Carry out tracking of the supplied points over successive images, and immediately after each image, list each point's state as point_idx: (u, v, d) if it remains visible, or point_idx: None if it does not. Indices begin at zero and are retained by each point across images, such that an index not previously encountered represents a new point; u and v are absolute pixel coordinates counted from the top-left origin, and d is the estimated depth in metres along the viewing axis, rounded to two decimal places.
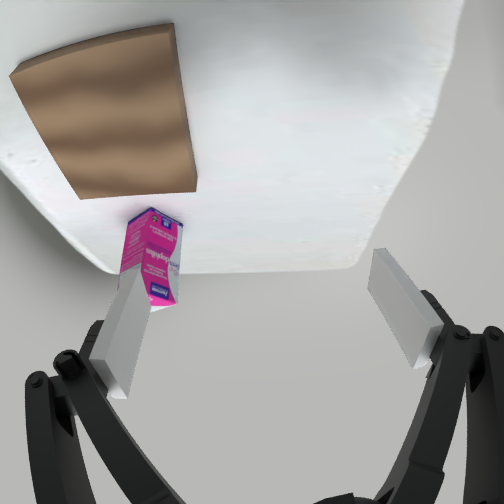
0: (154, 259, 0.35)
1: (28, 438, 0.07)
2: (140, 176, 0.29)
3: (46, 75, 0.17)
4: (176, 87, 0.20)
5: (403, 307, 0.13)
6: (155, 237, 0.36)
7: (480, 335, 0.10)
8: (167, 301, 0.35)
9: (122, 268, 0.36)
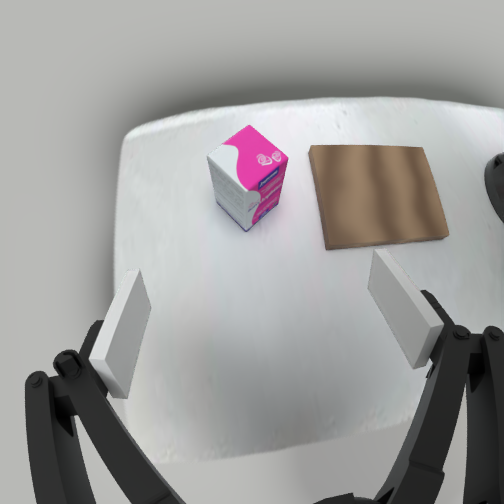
0: (274, 186, 0.32)
1: (28, 438, 0.07)
2: (345, 201, 0.37)
3: (423, 168, 0.39)
4: (422, 237, 0.36)
5: (403, 307, 0.13)
6: (273, 197, 0.35)
7: (480, 335, 0.10)
8: (256, 181, 0.28)
9: None
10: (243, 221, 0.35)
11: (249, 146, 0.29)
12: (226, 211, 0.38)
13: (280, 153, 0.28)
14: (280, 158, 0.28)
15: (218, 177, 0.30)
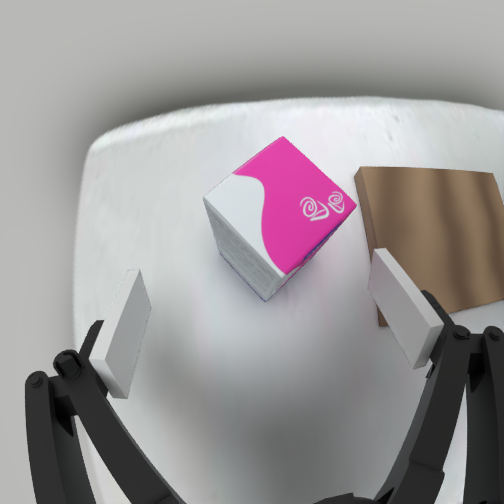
0: None
1: (28, 438, 0.07)
2: (410, 256, 0.24)
3: (496, 202, 0.25)
4: None
5: (403, 307, 0.13)
6: None
7: (480, 335, 0.10)
8: (301, 254, 0.14)
9: None
10: (263, 294, 0.22)
11: (284, 179, 0.15)
12: None
13: (342, 196, 0.15)
14: (343, 206, 0.15)
15: (224, 234, 0.17)
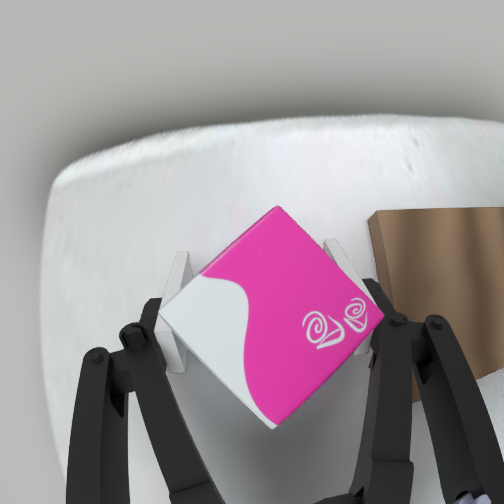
0: None
1: (75, 413, 0.08)
2: None
3: None
4: None
5: None
6: None
7: (421, 326, 0.12)
8: (300, 398, 0.09)
9: None
10: None
11: (279, 283, 0.10)
12: None
13: (365, 305, 0.10)
14: (366, 321, 0.10)
15: None
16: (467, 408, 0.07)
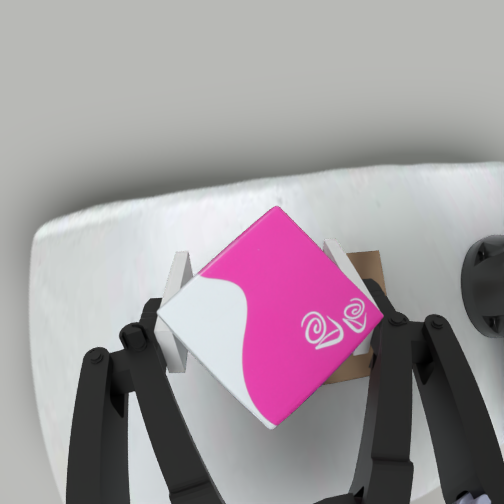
0: None
1: (74, 413, 0.08)
2: None
3: None
4: (356, 378, 0.30)
5: None
6: None
7: (421, 326, 0.12)
8: (299, 399, 0.09)
9: None
10: None
11: (278, 283, 0.10)
12: None
13: (364, 305, 0.10)
14: (365, 321, 0.10)
15: None
16: (467, 408, 0.07)
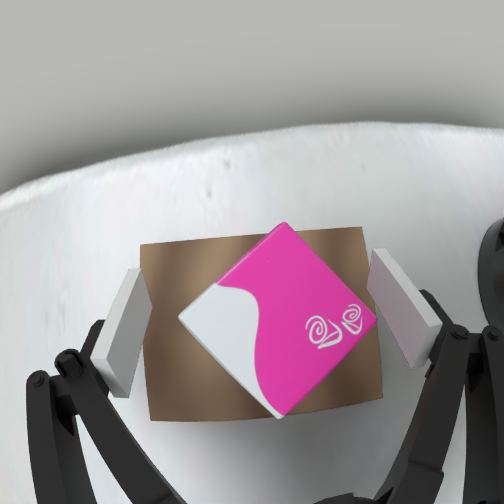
0: None
1: (29, 437, 0.07)
2: (181, 352, 0.22)
3: (354, 272, 0.23)
4: (324, 409, 0.20)
5: (402, 307, 0.13)
6: None
7: (479, 335, 0.10)
8: (303, 392, 0.11)
9: None
10: None
11: (285, 291, 0.11)
12: None
13: (360, 310, 0.11)
14: (361, 324, 0.11)
15: None
16: None
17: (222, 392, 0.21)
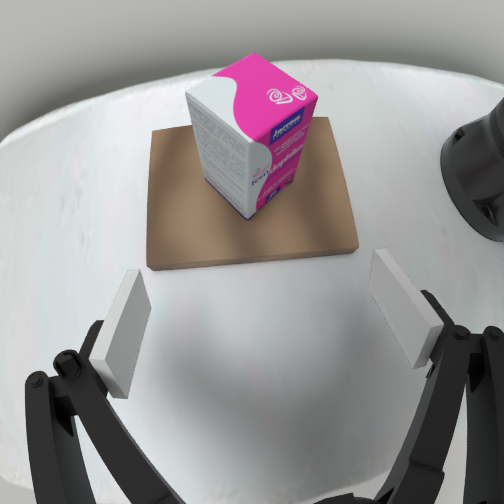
0: (293, 148, 0.20)
1: (28, 438, 0.07)
2: (180, 202, 0.26)
3: (323, 145, 0.28)
4: (304, 252, 0.25)
5: (403, 307, 0.13)
6: (289, 167, 0.23)
7: (480, 335, 0.10)
8: (267, 126, 0.15)
9: None
10: (243, 203, 0.23)
11: (254, 78, 0.16)
12: (218, 191, 0.26)
13: (304, 89, 0.16)
14: (305, 96, 0.16)
15: (204, 129, 0.18)
16: None
17: (212, 233, 0.26)
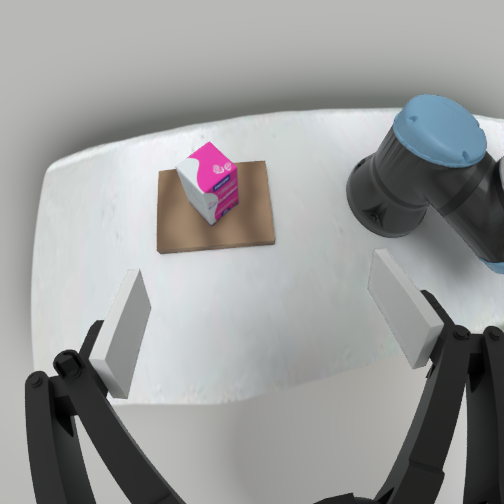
0: (230, 189, 0.41)
1: (28, 438, 0.07)
2: (175, 215, 0.47)
3: (259, 180, 0.49)
4: (242, 243, 0.46)
5: (403, 307, 0.13)
6: (232, 197, 0.44)
7: (480, 335, 0.10)
8: (211, 185, 0.36)
9: None
10: (207, 217, 0.44)
11: (207, 158, 0.37)
12: (196, 209, 0.47)
13: (230, 164, 0.37)
14: (230, 167, 0.37)
15: (185, 183, 0.39)
16: None
17: (193, 233, 0.47)
